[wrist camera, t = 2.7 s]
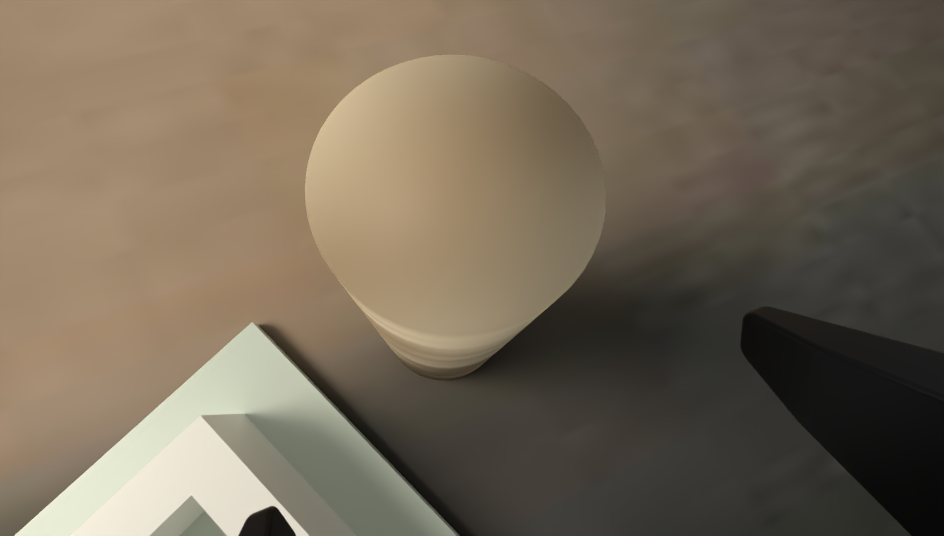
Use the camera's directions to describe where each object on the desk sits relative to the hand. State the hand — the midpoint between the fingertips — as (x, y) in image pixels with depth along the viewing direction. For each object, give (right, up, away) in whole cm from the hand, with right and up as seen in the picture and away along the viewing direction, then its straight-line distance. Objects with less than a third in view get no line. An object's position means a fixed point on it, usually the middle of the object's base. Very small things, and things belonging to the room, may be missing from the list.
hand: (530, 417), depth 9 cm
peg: (-2, +1, +11) cm, 11 cm away
